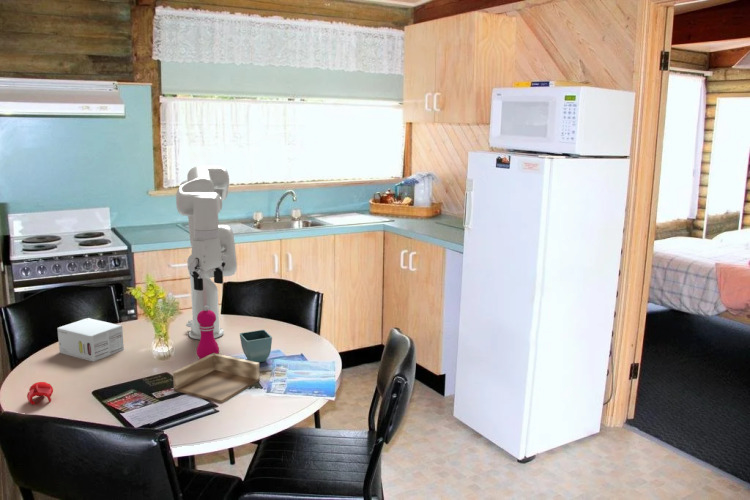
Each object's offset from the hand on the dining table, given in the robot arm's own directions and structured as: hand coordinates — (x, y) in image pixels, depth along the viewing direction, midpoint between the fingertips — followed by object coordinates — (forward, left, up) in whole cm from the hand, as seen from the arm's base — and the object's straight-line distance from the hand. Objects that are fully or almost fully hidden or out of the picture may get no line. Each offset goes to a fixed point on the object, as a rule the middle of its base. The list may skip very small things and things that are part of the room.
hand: (208, 286), depth 203 cm
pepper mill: (-1, -1, -27) cm, 27 cm away
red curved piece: (-24, -45, -27) cm, 57 cm away
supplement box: (-44, -11, -27) cm, 53 cm away
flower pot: (+11, +9, -27) cm, 30 cm away
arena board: (+13, -13, -26) cm, 32 cm away
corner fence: (+13, -13, -26) cm, 32 cm away
